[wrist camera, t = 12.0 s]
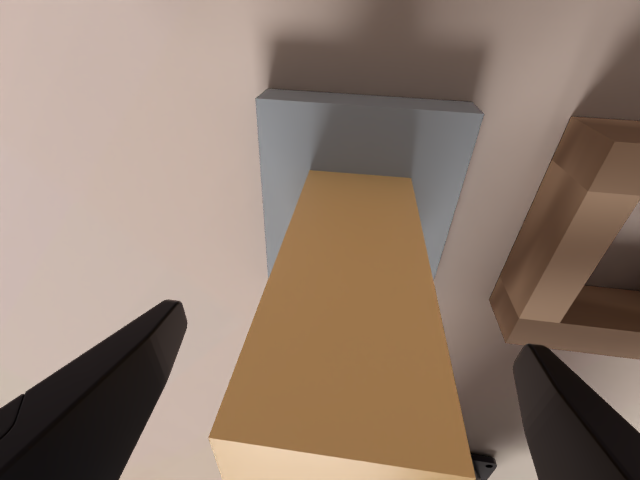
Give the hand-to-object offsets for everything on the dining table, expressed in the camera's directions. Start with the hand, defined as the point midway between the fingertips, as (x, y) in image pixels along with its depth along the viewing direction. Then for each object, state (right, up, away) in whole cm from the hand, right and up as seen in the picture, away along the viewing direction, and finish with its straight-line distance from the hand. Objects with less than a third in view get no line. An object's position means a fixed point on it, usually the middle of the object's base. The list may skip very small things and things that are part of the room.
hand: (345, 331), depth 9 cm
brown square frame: (+11, +3, +4) cm, 12 cm away
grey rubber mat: (+1, +4, +5) cm, 6 cm away
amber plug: (+1, +3, +4) cm, 5 cm away
